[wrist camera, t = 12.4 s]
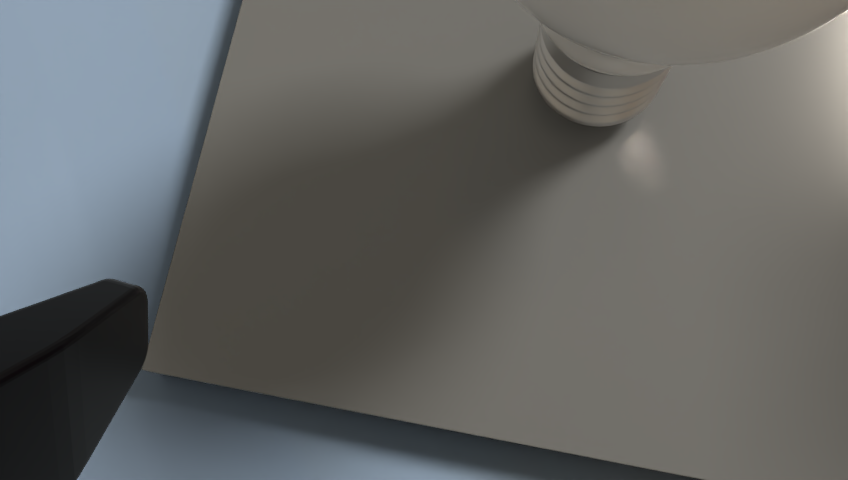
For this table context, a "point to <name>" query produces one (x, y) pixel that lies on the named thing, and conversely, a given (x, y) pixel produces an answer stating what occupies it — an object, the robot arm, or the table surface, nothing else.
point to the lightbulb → (651, 46)
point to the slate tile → (522, 242)
